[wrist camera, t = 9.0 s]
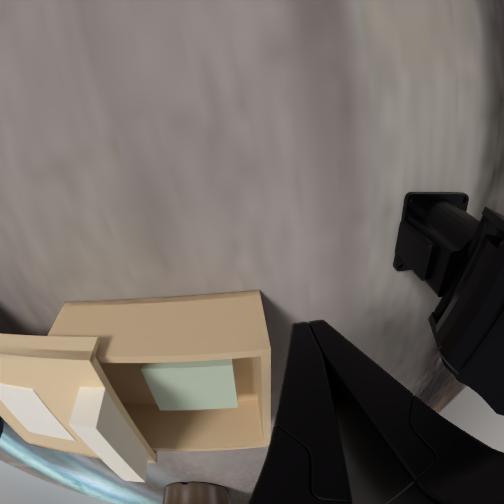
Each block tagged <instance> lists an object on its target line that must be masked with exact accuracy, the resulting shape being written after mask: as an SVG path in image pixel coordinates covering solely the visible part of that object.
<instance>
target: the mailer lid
mask: <svg viewBox="0 0 504 504" xmlns="http://www.w3.org/2000/svg"><path fill="white" fill-rule="evenodd" d="M99 342H100V340H99V338H98V337H63V336H33V335H14V334H0V416H1V417H2V418H3V419H4V420H5V421H6V422H7V423H8V424H9V425H10V426H11V427H12V428H13V430H14V431H15V432H16V433H18V434H19V435H20V436H21V437H22V438H23V439H24V440H25V441H26V442H27V443H28V444H31V445H35V446H39V447H43V448H48V449H52V450H57V451H62V452H67V453H72V454H78V455H83V456H90V457H96V458H101V459H102V460H103V461H104V462H105V463H106V464H107V465H108V466H109V467H110V468H111V469H112V470H113V471H114V472H115V473H116V474H117V475H119V476H120V477H121V478H122V479H123V480H126V481H135V482H146V469H147V463H157V452H158V451H153V450H152V449H151V447H150V446H149V444H148V443H147V441H146V440H145V439H144V437H143V436H142V434H141V433H140V431H139V430H138V428H137V427H136V425H135V424H134V422H133V421H132V419H131V417H130V416H129V414H128V413H127V411H126V410H125V408H124V406H123V405H122V403H121V401H120V400H119V398H118V396H117V395H116V393H115V391H114V390H113V388H112V386H111V384H110V383H109V381H108V379H107V377H106V375H105V374H104V372H103V370H102V368H101V366H100V364H99V362H98V360H97V359H96V357H95V354H96V351H97V348H98V345H99Z"/></svg>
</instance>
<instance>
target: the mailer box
mask: <svg viewBox="0 0 504 504" xmlns="http://www.w3.org/2000/svg"><path fill="white" fill-rule="evenodd" d="M47 336H63V337H98V338H99V340H100V342H99V345H98V348H97V351H96V354H95V357H96V359H97V360H98V362H99V364H100V366H101V368H102V370H103V372H104V374H105V375H106V377H107V379H108V381H109V383H110V384H111V386H112V388H113V390H114V391H115V393H116V395H117V396H118V398H119V400H120V401H121V403H122V405H123V406H124V408H125V410H126V411H127V413H128V414H129V416H130V417H131V419H132V421H133V422H134V424H135V425H136V427H137V428H138V430H139V431H140V433H141V434H142V436H143V437H144V439H145V440H146V441H147V443H148V444H149V446H150V447H151V449H152V450H153V451H215V450H233V449H246V448H257V447H266V446H269V444H270V424H271V347H270V342H269V337H268V332H267V327H266V321H265V316H264V311H263V306H262V301H261V296H260V291H259V290H255V291H243V292H232V293H219V294H207V295H193V296H179V297H164V298H147V299H129V300H109V301H85V302H65V304H64V305H63V307H62V309H61V311H60V313H59V314H58V316H57V318H56V320H55V322H54V324H53V326H52V328H51V330H50V331H49V333H48V335H47Z"/></svg>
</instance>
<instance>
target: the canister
mask: <svg viewBox="0 0 504 504" xmlns="http://www.w3.org/2000/svg"><path fill="white" fill-rule="evenodd" d="M2 432H3V423H2V421H1V419H0V437H1V435H2Z"/></svg>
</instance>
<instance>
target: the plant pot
mask: <svg viewBox="0 0 504 504" xmlns="http://www.w3.org/2000/svg"><path fill="white" fill-rule="evenodd" d="M163 504H230V499H229V493H228V491H227V490H226V489H225V488H224V487H222V486H219V485H215V484H211V483H200V482H189V483H188V484H182V483H180V482H179V483H173V484H170V485H167V486H166V487H165V489H164V497H163Z"/></svg>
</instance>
